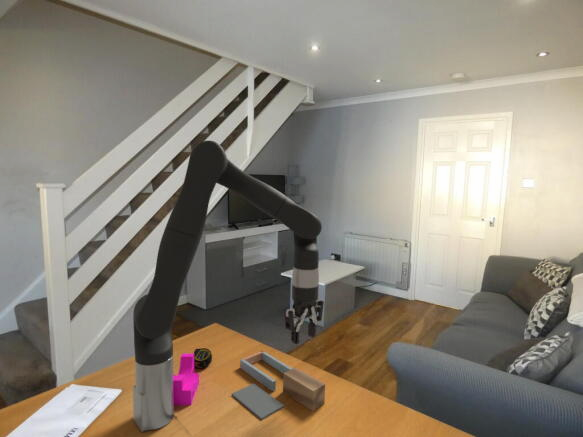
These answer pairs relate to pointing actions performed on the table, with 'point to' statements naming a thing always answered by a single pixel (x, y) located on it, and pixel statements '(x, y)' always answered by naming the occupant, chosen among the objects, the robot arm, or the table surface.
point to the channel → (259, 375)
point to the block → (304, 388)
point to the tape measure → (202, 357)
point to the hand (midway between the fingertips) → (303, 339)
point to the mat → (258, 401)
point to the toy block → (185, 381)
